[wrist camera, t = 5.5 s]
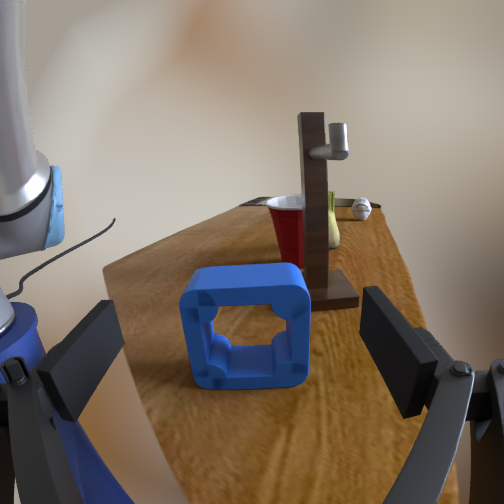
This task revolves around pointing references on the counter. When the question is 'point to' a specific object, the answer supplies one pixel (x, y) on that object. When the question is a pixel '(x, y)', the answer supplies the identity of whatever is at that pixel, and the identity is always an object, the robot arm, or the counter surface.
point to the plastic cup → (288, 227)
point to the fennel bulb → (332, 223)
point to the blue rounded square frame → (257, 356)
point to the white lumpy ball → (361, 208)
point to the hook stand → (320, 211)
